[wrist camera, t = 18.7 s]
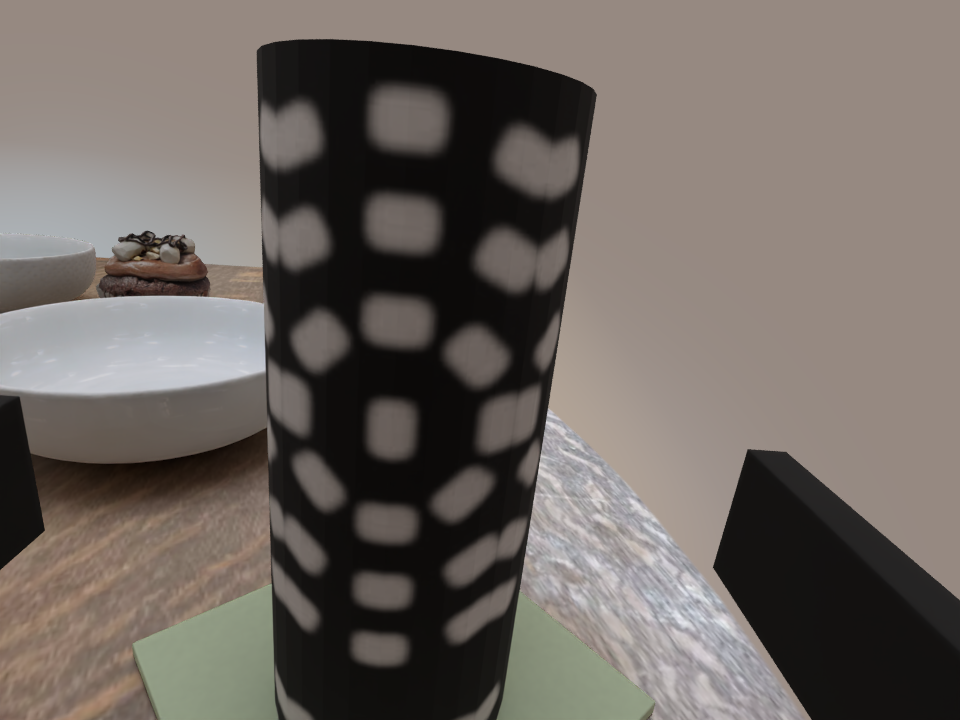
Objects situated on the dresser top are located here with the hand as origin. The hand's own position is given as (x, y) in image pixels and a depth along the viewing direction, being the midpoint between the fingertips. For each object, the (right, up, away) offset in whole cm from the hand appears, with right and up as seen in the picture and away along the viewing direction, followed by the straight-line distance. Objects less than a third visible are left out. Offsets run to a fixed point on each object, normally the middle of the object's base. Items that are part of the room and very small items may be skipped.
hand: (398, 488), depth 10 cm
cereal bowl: (-47, +7, +46) cm, 67 cm away
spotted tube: (-2, -9, +10) cm, 14 cm away
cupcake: (-31, +5, +45) cm, 54 cm away
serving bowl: (-20, -2, +27) cm, 34 cm away
